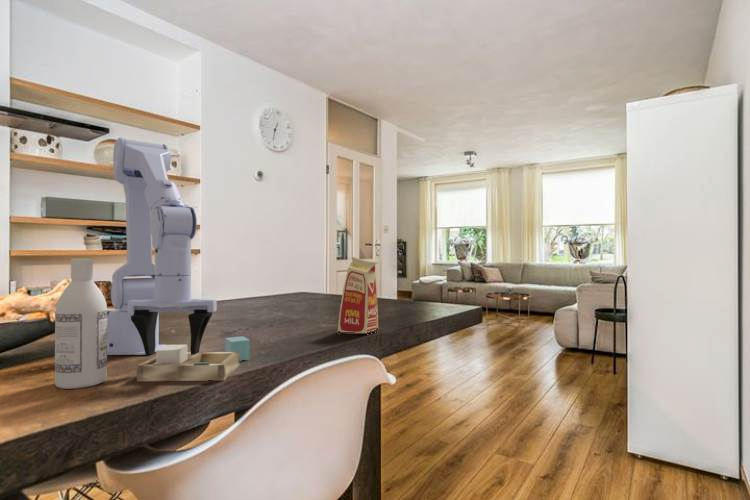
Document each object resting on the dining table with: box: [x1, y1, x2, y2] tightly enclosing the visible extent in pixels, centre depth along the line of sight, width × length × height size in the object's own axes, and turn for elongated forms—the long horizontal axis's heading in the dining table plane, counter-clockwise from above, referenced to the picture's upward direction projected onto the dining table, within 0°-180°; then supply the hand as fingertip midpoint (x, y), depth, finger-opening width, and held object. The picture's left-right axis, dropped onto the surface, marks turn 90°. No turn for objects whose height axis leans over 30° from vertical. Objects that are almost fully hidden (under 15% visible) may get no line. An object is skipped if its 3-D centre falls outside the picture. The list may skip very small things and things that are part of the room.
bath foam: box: [54, 257, 108, 390], centre depth 71 cm, size 7×7×20 cm
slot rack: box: [136, 351, 240, 382], centre depth 77 cm, size 14×10×3 cm
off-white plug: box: [155, 344, 188, 364], centre depth 77 cm, size 6×4×4 cm, turn 2°
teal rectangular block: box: [224, 336, 251, 362], centre depth 87 cm, size 6×4×4 cm, turn 33°
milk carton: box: [337, 256, 379, 333], centre depth 117 cm, size 9×9×20 cm
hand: (172, 353), depth 77 cm, fingers open, 7 cm apart
